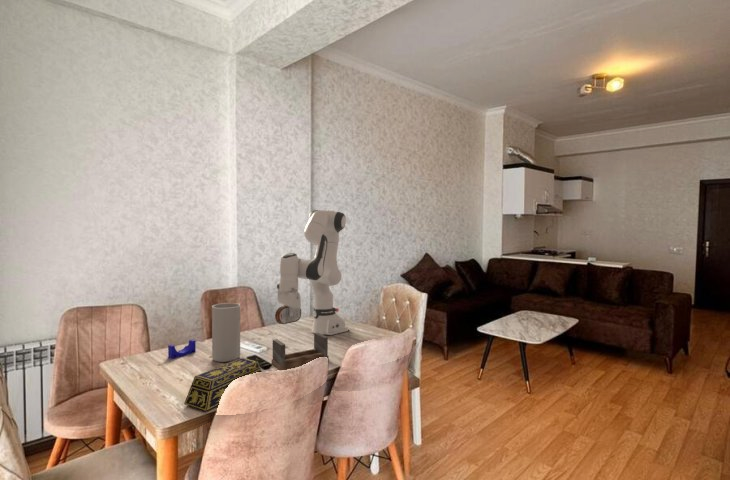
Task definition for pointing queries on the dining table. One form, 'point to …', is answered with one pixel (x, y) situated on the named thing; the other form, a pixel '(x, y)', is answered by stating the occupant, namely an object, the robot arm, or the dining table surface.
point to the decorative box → (217, 382)
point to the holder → (299, 353)
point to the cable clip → (186, 350)
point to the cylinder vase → (225, 332)
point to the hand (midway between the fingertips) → (288, 315)
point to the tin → (287, 315)
